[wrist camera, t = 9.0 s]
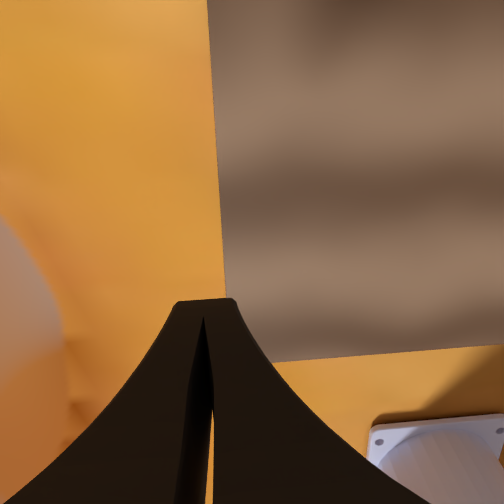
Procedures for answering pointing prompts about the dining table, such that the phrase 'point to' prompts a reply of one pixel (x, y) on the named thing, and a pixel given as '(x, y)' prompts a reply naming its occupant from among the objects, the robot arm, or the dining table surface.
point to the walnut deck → (361, 172)
